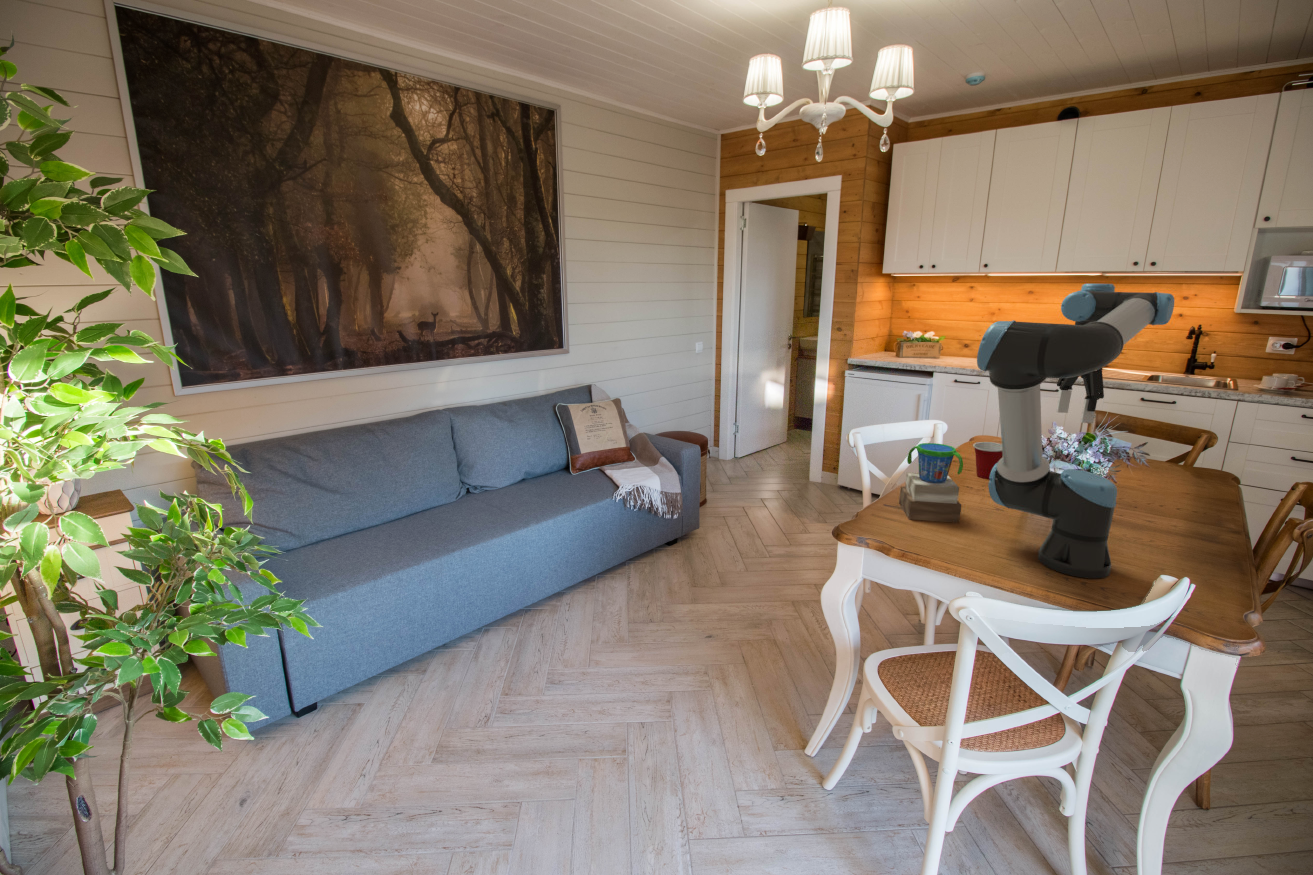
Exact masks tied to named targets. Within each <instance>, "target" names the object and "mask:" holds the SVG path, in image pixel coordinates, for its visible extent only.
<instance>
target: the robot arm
mask: <svg viewBox="0 0 1313 875" xmlns="http://www.w3.org/2000/svg"><path fill="white" fill-rule="evenodd" d="M1080 288H1081V290H1077V291H1073V292H1071V293H1069V294H1068V295H1066V296H1065V298H1063V300H1062V301H1061V305H1060V311H1061V314H1062V315H1063V317H1064V318H1066V319H1067V320H1069V321H1072V322H1075V323H1074V324H1068V323H1066V324H1065V323H1051V322H1050V323H1048V322H1028V321H1016V320H1013V319H1012V320H1010V321H1009V320H999V321H996V322H993V323H991V325H990V326H989V327H988V328H987V329H986V331H985V332H984V334H983V335H982V338H981V341H980V343H979V345H978V346H979V347H978V350H977V354H976V355H977V356H976V364H977V368H978V369H979V370H981V371H983V372H988V374H989V376H988V378H989V381H990V383H991V385H993V386H994V387H996V388H997V397H998V409H999V410H998V412H999V421H1000V422H999V425H1000V436H1001V437H1000V438H1001V444H1002V452H1003V457H1002V458H1001V459H1000V460H999V461H998V463H996V464H995V465H994V467H993V468H992V470H991V473H990V476H989V478H990V479H989V481H988V493H989V495H990V498H991V500H992V501H993V502H994V503H995V504H997V505H1000V506H1003V507H1006V508H1007V509H1011V510H1015V511H1019V512H1024V513H1028V514H1032V515H1035V516H1039V517H1043V518H1045V519H1046V518H1047V519H1050V520H1051V521H1052V523H1051V524H1052V525H1051V528H1050V531H1049V533H1048V535H1047V536H1046V538H1045V539H1044V540H1043V542H1042V544H1041V546H1040V548H1039V550H1038V554H1037V560H1038V561H1039V562H1040V564H1042V565H1044V566H1045V567H1047V568H1049V569H1051V570H1053V571H1056V572H1058V573H1061V574H1064V575H1067V576H1071V577H1076V578H1083V579H1093V580H1094V579H1104V578H1107V577H1108V576H1110V573H1111V569H1112V562H1111V561H1112V560H1111V556H1110V551H1109V545H1108V541H1109V540H1108V539H1109V534H1110V530H1111V525H1112V521H1113V516H1114V513H1115V507H1116V506H1117V497H1118V488H1117V486H1116V485H1115V483H1114V482H1113V481H1111V480H1109V479H1108V478H1106V477H1105V476H1102V475H1099V474H1096V473H1094V472H1090V471H1086V470H1082V469H1075V468H1066V469H1063V471H1062V472H1061V473H1059V472H1057V471H1056V472H1055V471H1051V470H1050V469H1051V467H1050V466H1051V464H1050V462H1049V461H1048V459H1047V458H1046V457H1045V456H1043V443H1042V442H1043V436H1042V433H1043V431H1042V409H1041V408H1042V406H1041V398H1042V397H1041V385H1042V384H1043V383H1044V382H1045V381H1046V380H1047V379H1057V382H1056V387H1059V390H1060V391H1059V396H1058V401H1057V408H1056V413H1065V414H1069V409H1070V408H1069V407H1070V403H1071V399H1072V398H1071V396H1072V392H1073V386H1074V385H1075V384H1076V382H1077V380H1078V378H1081V379H1082V380H1083V384H1084V389H1085V393H1086V396H1085V397H1084V402H1083V407H1082V412H1081V413H1082V414H1081V418H1080V423H1083V424H1093V423H1094V418H1095V414H1096V409H1097V403H1098V401H1099V400H1100V399H1104V397H1105V393H1104V392H1105V391H1104V377H1103V368H1104V367H1106V366H1108V365H1109V364H1111V363H1112V362H1113V361H1115V360H1116V359H1117V358H1118V357H1119V356H1120V355H1121V354H1122V351H1123V349H1124V346H1125V345H1126V344H1127V343H1128V342H1130V341H1131V340H1132V339H1133V338H1134V337H1135V336H1136V335H1138V333H1140V332H1141V331H1142V330H1143V329H1145V328H1146V327H1147V326H1149V325H1151V326H1163V325H1164V326H1165V325H1167V324H1168V323H1169V322H1170V320H1171V318H1172V316H1173V313H1174V309H1175V297H1174V295H1173V294H1172V293H1166V292H1158V291H1155V292H1139V291H1135V292H1133V291H1132V292H1131V291H1115V290H1116V285H1114V284H1113V283H1084V284H1082V285H1081V287H1080Z"/></svg>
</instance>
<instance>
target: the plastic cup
mask: <svg viewBox="0 0 1313 875" xmlns="http://www.w3.org/2000/svg"><path fill="white" fill-rule="evenodd" d="M972 447H973V448H974V453H975V467H976V476H977V477H978V478H980V479H986V480H990V478H989V476H990V473H991V470H992V468H993V467H994V465H995V464H996V463H998V461H999V460H1000V459H1001V458H1002V457H1003V452H1002V443H999V442H994V441H993V442H992V441H978V442H975V443H973V445H972Z"/></svg>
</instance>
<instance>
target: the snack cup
mask: <svg viewBox="0 0 1313 875" xmlns="http://www.w3.org/2000/svg"><path fill="white" fill-rule="evenodd" d="M915 450H917V455H918V458H917V459H918V473H919V477H920V478H921V479H922V480H924V481H927V482H934V483H940V482H945V481H946V479H947V476H949V473H950V470H951V466H952V462H953V459H954V457H956V458H958V463H959V466H958V470H957V475H960V474H961V473H962V471H963V468H964V461H963V457H962V455H961V454H960V453H959V452H958V451H957V449H956V447H953V446H952V445H948V444H943V443H935V442H934V443H933V442H931V443H930V442H925V443H918V444H917V445H916V446H913V447H911V449H910V450H909V451H908V454H907V458H906V459H907V460H906V462H907V464H908V465H911V464H912V463H913V460H912V458H913V457H912V456H913V455H912V453H913V452H914V451H915Z"/></svg>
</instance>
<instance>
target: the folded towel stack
mask: <svg viewBox="0 0 1313 875" xmlns="http://www.w3.org/2000/svg"><path fill="white" fill-rule="evenodd" d="M904 485H905V486H900V490H899V491H900V494H899V498H898V499H899V500H898V504H899V505H900V507H901V509H902V510H903V512H904V513H905V516H906V517H907V519H908V520H912V521H914V520H915V521H927V522H942V523H954V524H955V523H956V524H959V523H960V518H961V514H962V513H961V512H962V507H963V506H962V504H961V502H959V501H958V500H959V493H960V487H959V485H958V484H957V483H956V482H955V481H954V480H953V479H952V478H951V477H950V476H949V475H948V476H947V479H946V481H945V482H940V483H934V482H927V481H924V480H922V479H921V478H920V477H919V472H906V476H905V484H904Z"/></svg>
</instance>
